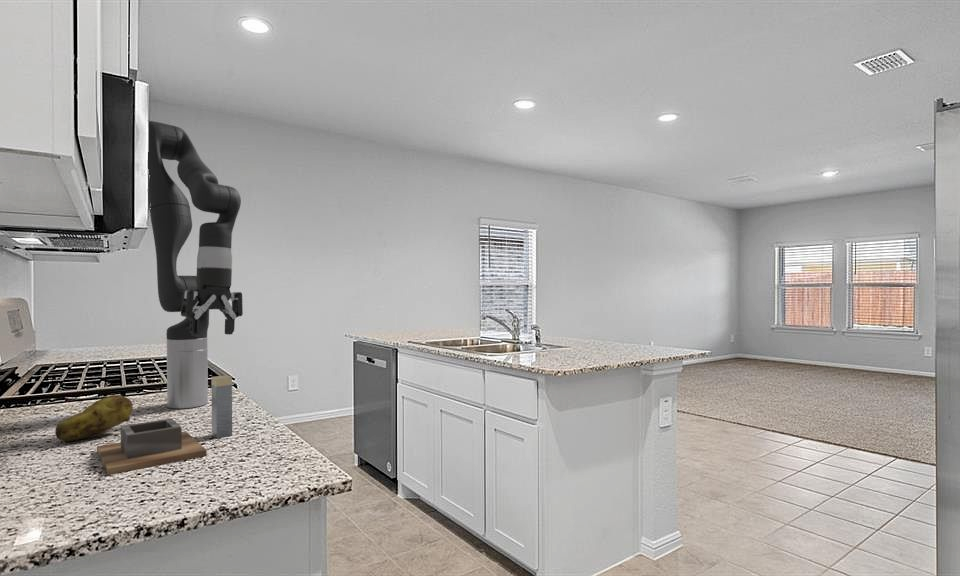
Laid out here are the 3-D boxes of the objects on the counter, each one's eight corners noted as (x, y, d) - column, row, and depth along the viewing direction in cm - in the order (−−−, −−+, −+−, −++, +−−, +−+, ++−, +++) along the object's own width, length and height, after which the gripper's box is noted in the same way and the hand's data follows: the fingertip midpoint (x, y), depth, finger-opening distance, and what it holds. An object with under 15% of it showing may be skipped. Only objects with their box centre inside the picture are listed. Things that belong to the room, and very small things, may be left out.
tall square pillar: (212, 434, 112) (211, 376, 112) (227, 431, 114) (226, 375, 114) (216, 438, 110) (216, 379, 110) (232, 435, 112) (231, 377, 112)
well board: (97, 451, 101) (96, 424, 101) (186, 436, 111) (185, 412, 111) (107, 474, 89) (107, 444, 89) (206, 455, 99) (206, 428, 99)
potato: (58, 436, 111) (57, 398, 111) (132, 427, 118) (132, 390, 118) (54, 447, 104) (53, 405, 104) (133, 436, 111) (133, 397, 111)
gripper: (231, 269, 137) (229, 333, 137) (176, 265, 125) (173, 335, 124) (250, 268, 133) (248, 334, 133) (195, 264, 121) (192, 336, 121)
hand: (212, 335), depth 129 cm, fingers open, 8 cm apart
